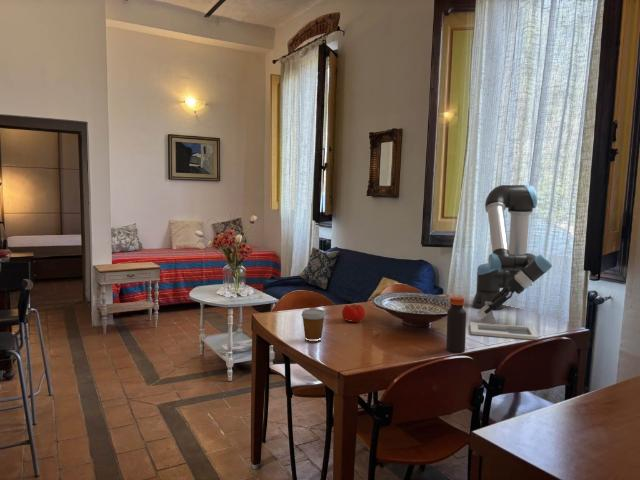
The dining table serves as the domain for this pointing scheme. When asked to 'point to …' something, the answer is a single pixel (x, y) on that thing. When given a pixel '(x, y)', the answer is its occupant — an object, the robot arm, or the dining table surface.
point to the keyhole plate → (503, 331)
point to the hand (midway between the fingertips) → (479, 315)
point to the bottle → (456, 326)
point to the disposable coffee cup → (313, 324)
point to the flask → (488, 316)
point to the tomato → (353, 313)
